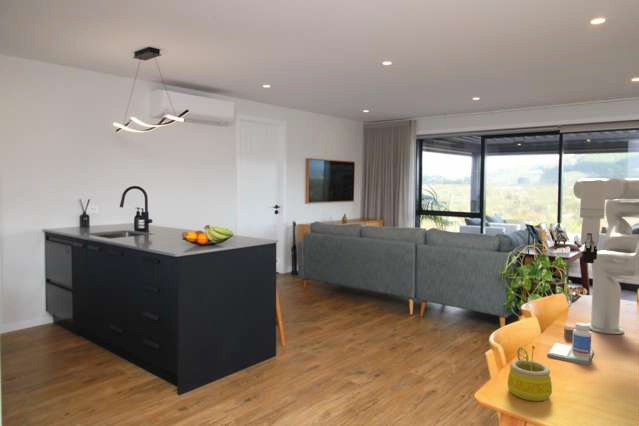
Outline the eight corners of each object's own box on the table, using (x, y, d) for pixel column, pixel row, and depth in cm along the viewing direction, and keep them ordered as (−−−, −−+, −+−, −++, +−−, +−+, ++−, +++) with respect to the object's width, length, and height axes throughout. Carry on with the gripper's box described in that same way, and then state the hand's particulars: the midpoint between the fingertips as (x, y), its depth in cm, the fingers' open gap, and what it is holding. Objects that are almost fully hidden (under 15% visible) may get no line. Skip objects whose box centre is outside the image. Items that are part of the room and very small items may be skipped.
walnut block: (563, 336, 174) (564, 326, 174) (575, 337, 173) (576, 327, 173) (565, 339, 171) (565, 329, 170) (577, 341, 169) (578, 330, 169)
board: (554, 345, 164) (554, 342, 164) (593, 352, 157) (593, 349, 157) (547, 356, 153) (547, 353, 153) (588, 365, 146) (588, 361, 146)
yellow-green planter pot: (549, 408, 117) (551, 362, 116) (504, 397, 123) (505, 353, 122) (554, 389, 128) (556, 347, 127) (512, 380, 134) (513, 340, 133)
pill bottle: (593, 356, 150) (594, 327, 150) (575, 355, 151) (576, 326, 151) (586, 350, 155) (588, 322, 155) (569, 349, 157) (570, 321, 156)
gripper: (583, 212, 174) (581, 256, 175) (576, 214, 160) (574, 263, 161) (606, 213, 169) (604, 258, 171) (601, 215, 156) (599, 265, 157)
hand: (590, 260), depth 166 cm, fingers open, 9 cm apart
